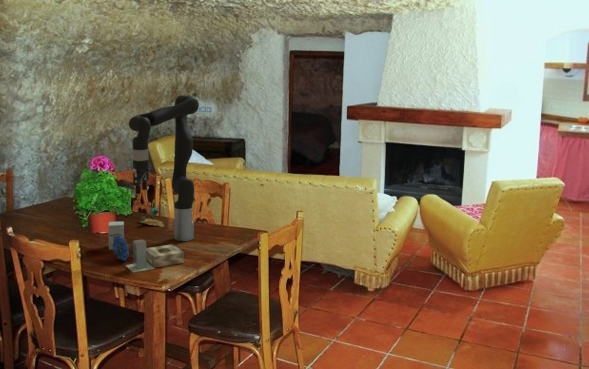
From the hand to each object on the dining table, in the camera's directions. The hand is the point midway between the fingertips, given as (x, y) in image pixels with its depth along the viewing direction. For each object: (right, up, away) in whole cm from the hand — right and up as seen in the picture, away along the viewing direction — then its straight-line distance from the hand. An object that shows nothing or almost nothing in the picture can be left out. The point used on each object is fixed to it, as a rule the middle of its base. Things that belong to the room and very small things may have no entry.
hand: (141, 191), depth 283 cm
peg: (+4, -34, -17) cm, 38 cm away
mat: (+4, -34, -17) cm, 38 cm away
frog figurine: (-8, -20, +55) cm, 59 cm away
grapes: (-8, -32, -8) cm, 34 cm away
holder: (+12, -32, -6) cm, 35 cm away
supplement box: (-15, -28, +11) cm, 34 cm away
